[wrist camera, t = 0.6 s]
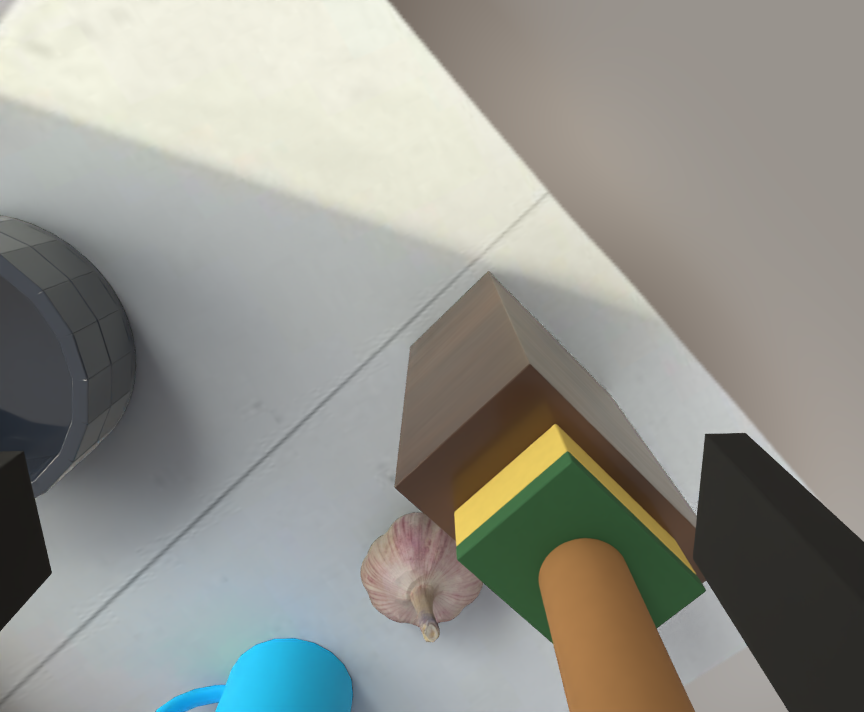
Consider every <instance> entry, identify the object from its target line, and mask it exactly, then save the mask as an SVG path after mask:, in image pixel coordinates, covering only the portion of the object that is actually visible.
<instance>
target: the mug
mask: <svg viewBox="0 0 864 712" xmlns="http://www.w3.org/2000/svg"><path fill="white" fill-rule="evenodd" d="M352 699H353V691H352V680H351V678H350V676H349V674H348V672H347V670H346V668H345V666H344V664H343V663H342V662H341V661H340V660H339V659H338V658H337V657H336V656H335V655H334V654H333V653H331V652H330V651H328V650H326V649H324V648H323V647H321V646H319V645H317V644H315V643H312V642H308V641H303V640H299V639H295V638H291V639H273V640H270V641H267V642H264V643H260V644H257V645H255V646H254V647H252V648H251V649H249V650H248V651H247V652H245V653H244V654H242V655H241V657H240V658H239V659H238V661H237V662H236V664H235V665H234V667H233V668H232V670H231V673H230V675H229V678H228V680H227V683H226V685H214V686H209V687H203V688H198V689H194V690H191V691H189V692H186V693H184V694H181V695H179V696H176V697H174V698H173V699H171V700H170V701H168V702H167V703H166V704H164V705H163V706H161V707H160V708H159V709H157V710H156V712H185V711H188V710H190V709H193V708H195V707H198V706H203V705H208V704H213V703H219V704H218V706H217V709H216V712H351V705H352Z"/></svg>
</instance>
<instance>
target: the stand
mask: <svg viewBox="0 0 864 712" xmlns="http://www.w3.org/2000/svg"><path fill="white" fill-rule="evenodd" d="M554 424H557V425H558V426H559V427H560V428H561V429H562V430H563V431H564V432H565V433H566V434H567V435H568V436H569V437H570V438H571V439H572V440H573V441H574V442H576V443H577V444H578V445H579V446H580V447H581V448H582V449H583V450H584V451H585V452H586V453H587V454H588V455H589V456H590V457H591V458H592V459H593V460H594V461H595V462H596V463H597V464H598V465H599V466H600V467H601V468H602V469H603V470H604V471H605V472H606V473H607V474H608V475H609V476H610V477H611V478H612V479H613V480H614V481H615V482H616V483H617V484H618V485H619V486H621V487H622V488H623V489H624V490H625V491H626V492H627V493H628V494H629V495H630V496H631V497H632V498H633V499H634V500H635V501H636V502H637V503H638V504H639V505H640V506H641V507H642V508H643V509H644V510H645V511H646V512H647V513H648V514H649V515H650V516H651V517H652V518H653V519H654V520H655V521H656V522H657V523H658V524H659V525H660V526H661V527H662V528H663V529H664V530H666V531H667V532H668V533H669V534H670V535H671V536H672V537H673V538H674V539H675V541H676V542H677V544H678V545H679V547H680V549H681V550H682V552H683V554H684V555H685V557H686V558H687V560H688V562H689V563H690V565H691V567H692V568H693V570H694V571H695V573H696V575H697V576H698V578H699V579H700V581H701V583H704V582H705V581H706V579H705V577H704V576H703V574H702V573H701V571H700V569H699V568H698V566H697V565H696V563H695V562H694V560H693V549H694V540H695V530H696V520H697V515H696V514H695V513H694V511H693V510H692V508H691V507H690V506H689V504H688V503H687V501H686V500H685V499H684V497H683V496H682V494H681V493H680V492H679V490H678V489H677V487H676V486H675V485H674V483H673V482H672V480H671V479H670V478H669V476H668V475H667V473H666V472H665V471H664V469H663V468H662V466H661V465H660V464H659V462H658V461H657V460H656V458H655V457H654V455H653V454H652V453H651V451H650V450H649V448H648V447H647V446H646V444H645V443H644V441H643V440H642V439H641V437H640V436H639V434H638V433H637V432H636V430H635V429H634V427H633V426H632V425H631V423H630V422H629V420H628V419H627V418H626V416H625V415H624V413H623V412H622V411H621V409H620V408H619V406H618V405H617V404H616V402H615V401H614V399H613V398H612V397H611V395H610V394H609V393H608V392H607V391H606V390H605V389H604V388H603V387H602V386H601V385H600V384H599V383H598V382H597V381H596V380H595V379H594V378H593V377H592V376H591V375H590V374H589V373H588V372H587V371H586V370H585V369H584V368H583V367H582V366H581V364H580V363H579V362H578V361H577V360H576V359H575V358H574V357H573V356H572V355H571V354H570V353H569V352H568V351H567V350H566V349H565V348H564V347H563V346H562V345H561V344H560V343H559V342H558V341H557V340H556V339H555V338H554V337H553V336H552V335H551V334H550V333H549V332H548V331H547V330H546V329H545V328H544V327H543V326H542V325H541V324H540V323H539V322H538V321H537V320H536V319H535V318H534V317H533V316H532V315H531V314H530V313H529V312H528V311H527V310H526V309H525V308H524V307H523V306H522V305H521V303H520V302H519V301H518V300H517V299H516V298H515V297H514V296H513V295H512V294H511V293H510V292H509V291H508V290H507V289H506V288H505V287H504V286H503V285H502V284H501V283H500V282H499V281H498V280H497V279H496V278H495V277H494V276H493V275H492V274H491V273H490V272H489V271H488V272H487V273H486V274H485V275H484V276H483V277H482V278H481V279H480V280H479V281H478V282H477V283H476V284H475V285H474V286H473V287H472V288H470V289H469V290H468V291H467V292H466V293H465V294H464V295H463V296H462V297H461V298H460V299H459V300H458V301H457V302H456V303H455V304H454V305H453V306H452V307H451V308H450V309H449V310H448V311H447V312H446V313H445V314H444V315H443V316H442V317H441V318H440V319H438V320H437V321H436V322H435V323H434V324H433V325H432V326H431V327H430V328H429V329H428V330H427V331H426V332H425V333H424V334H423V335H422V336H421V337H420V338H419V339H418V340H417V341H416V342H415V343H414V344H413V345H412V346H411V347H410V353H409V362H408V371H407V380H406V389H405V397H404V406H403V415H402V424H401V433H400V442H399V451H398V459H397V468H396V477H395V486H394V487H395V488H396V489H397V490H398V491H399V492H400V493H401V494H402V495H404V496H405V497H406V498H407V499H408V500H409V501H410V502H411V503H413V504H414V505H415V506H416V507H417V508H418V509H419V510H421V511H422V512H423V513H424V514H425V515H426V516H427V517H429V518H430V519H431V520H432V521H433V522H434V523H435V524H436V525H438V526H439V527H440V528H441V529H442V530H443V531H444V532H446V533H447V534H448V535H449V536H450V537H451V538H452V539H453V540H455V541H456V533H455V516H454V513H455V511H456V510H457V509H458V508H460V507H461V506H462V505H463V504H464V503H465V502H466V501H468V500H469V499H470V498H471V497H472V496H473V495H474V494H476V493H477V492H478V491H479V490H480V489H481V488H482V487H484V486H485V485H486V484H487V483H488V482H489V481H490V480H491V479H493V478H494V477H495V476H496V475H497V474H498V473H499V472H501V471H502V470H503V469H504V468H505V467H506V466H507V465H509V464H510V463H511V462H512V461H513V460H514V459H515V458H517V457H518V456H519V455H520V454H521V453H522V452H523V451H525V450H526V449H527V448H528V447H529V446H530V445H531V444H533V443H534V442H535V441H536V440H537V439H538V438H539V437H541V436H542V435H543V434H544V433H545V432H546V431H547V430H549V429H550V428H551V427H552V426H553V425H554Z"/></svg>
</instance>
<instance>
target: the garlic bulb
mask: <svg viewBox="0 0 864 712" xmlns="http://www.w3.org/2000/svg"><path fill="white" fill-rule="evenodd" d="M456 547H457V546H456V541H455V540H453V539H452V538H451V537H450V536H449V535H448V534H447V533H446V532H444V531H443V530H442V529H441V528H440V527H439V526H438V525H436V524H435V523H434V522H433V521H432V520H431V519H430V518H429V517H427V516H426V515H425V514H424V513H409V514H406V515H404V516H402V517H400V518H398V519H397V520H396V521H395V522H394V523H393V524H392V525H391V527H390V528H389V530H388V532H387V533H385V534H384V535H382V536H380V537H379V538H378V539H377V540H375V541H374V543H373V544H372V545H371V547H370V549H369V551H368V555H367V556H366V557H365V559H364V560H363V562H362V566H361V580H362V583H363V585H364V587H365V589H366V590H367V592H368V594H369V598H370V600H371V603H372V605H373V606H374V607H375V608H376V609H377V610H378V611H379V612H380V613H382V614H383V615H385V616H386V617H387V618H389V619H391V620H393V621H396V622H400V623H410V624H413V625H416V626H418V627H420V629H421V631H422V634H423V636H424V639H425V640H426V642H434V641H435V640H436V639H437V638H438V637H439V635H440V630H439V626H438V623H440V622H445V621H450V620H452V619H454V618H455V617H456V616H457V615H459V613H460V612H461V611H462V609H463V608H464V607H465V606H467V605H469V604H470V603H472V602H473V601H474V600H475V598H476V597H477V596H478V595H479V593H480V590H481V588H482V585H483V582H482V581H481V580H479V579H478V578H477V577H476V576H475V575H474V574H473V573H471V572H470V571H469V570H468V569H467V568H466V567H465V566H463V565H462V564H461V563H460V562H459V561H458V560H457V554H456Z"/></svg>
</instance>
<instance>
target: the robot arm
mask: <svg viewBox="0 0 864 712" xmlns="http://www.w3.org/2000/svg"><path fill="white" fill-rule="evenodd" d="M693 560H694V562H695V563H696V565H697V566H698V568H699V569H700V571H701V573H702V574H703V576H704V577H705V579H706V581H707V582H708V584H709V585H710V587H711V589H712V590H713V592H714V593H715V595H716V597H717V598H718V600H719V601H720V603H721V605H722V606H723V608H724V609H725V611H726V612H727V614H728V616H729V617H730V619H731V620H732V622H733V624H734V625H735V627H736V628H737V630H738V632H739V633H740V635H741V636H742V638H743V640H744V641H745V643H746V644H747V646H748V648H749V649H750V651H751V652H752V654H753V655H754V657H755V658H756V660H757V662H758V663H759V665H760V667H761V668H762V670H763V671H764V673H765V675H766V676H767V678H768V679H769V681H770V683H771V684H772V686H773V687H774V689H775V690H776V692H777V694H778V695H779V697H780V698H781V700H782V702H783V703H784V705H785V706H786V708H787V710H788V711H789V712H864V542H863V541H862V540H861V539H860V538H859V537H858V536H857V535H856V534H855V533H853V532H852V531H851V530H850V529H849V528H848V527H847V526H846V525H845V524H844V523H843V522H841V521H840V520H839V519H838V518H837V517H836V516H835V515H834V514H833V513H832V512H831V511H830V510H829V509H827V508H826V507H825V506H824V505H823V504H822V503H821V502H820V501H819V500H818V499H817V498H816V497H814V496H813V495H812V494H811V493H810V492H809V491H808V490H807V489H806V488H805V487H804V486H802V485H801V484H800V483H799V482H798V481H797V480H796V479H795V478H794V477H793V476H792V475H791V474H789V473H788V472H787V471H786V470H785V469H784V468H783V467H782V466H781V465H780V464H779V463H777V462H776V461H775V460H774V459H773V458H772V457H771V456H770V455H769V454H768V453H767V452H766V451H764V450H763V449H762V448H761V447H760V446H759V445H758V444H757V443H756V442H755V441H754V440H753V439H751V438H750V437H749V436H748V435H747V434H746V433H727V434H705V442H704V452H703V462H702V471H701V481H700V491H699V501H698V510H697V520H696V530H695V540H694V549H693ZM51 574H52V571H51V567H50V563H49V558H48V554H47V550H46V545H45V541H44V537H43V532H42V528H41V524H40V519H39V515H38V511H37V506H36V502H35V498H34V493H33V489H32V485H31V480H30V476H29V472H28V467H27V463H26V459H25V454H24V451H1V452H0V631H1V630H2V629H3V627H4V626H5V625H6V624H7V623H8V622H9V621H10V620H11V618H12V617H13V616H14V615H15V614H16V613H17V612H18V611H19V610H20V608H21V607H22V606H23V605H24V604H25V603H26V602H27V601H28V599H29V598H30V597H31V596H32V595H33V594H34V593H35V592H36V590H37V589H38V588H39V587H40V586H41V585H42V584H43V583H44V581H45V580H46V579H47V578H48V577H49V576H50V575H51Z"/></svg>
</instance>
